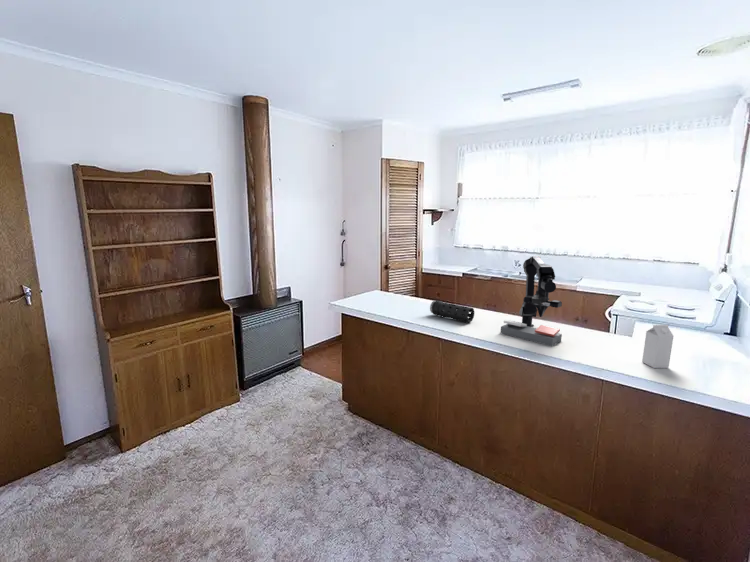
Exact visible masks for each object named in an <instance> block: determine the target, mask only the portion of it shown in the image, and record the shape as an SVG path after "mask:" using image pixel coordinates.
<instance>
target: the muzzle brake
mask: <svg viewBox="0 0 750 562" xmlns="http://www.w3.org/2000/svg"><path fill="white" fill-rule="evenodd" d="M429 311H430V313H431V314H433V315H435V316H439V317H440V316H443V317H446V318H449V319H452V320H453V319H454V320H455V321H457V320H459V321H458V322H462V321H463V322H462V323H466V322H467V324H471V322H473V320H474V317H475V309H474V307H471V306H464V305H460V304H459V305H458V304H454V303H449V302H445V301H444V302H443V301H442V300H433V301H431V303H430V306H429ZM443 317H442V318H443Z"/></svg>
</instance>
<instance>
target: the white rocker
mask: <svg viewBox="0 0 750 562" xmlns="http://www.w3.org/2000/svg"><path fill="white" fill-rule="evenodd" d="M503 324H511V325H515V326H520V327H523V326H527V324H524V323H522V322H520V321H515V320H503Z"/></svg>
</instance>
